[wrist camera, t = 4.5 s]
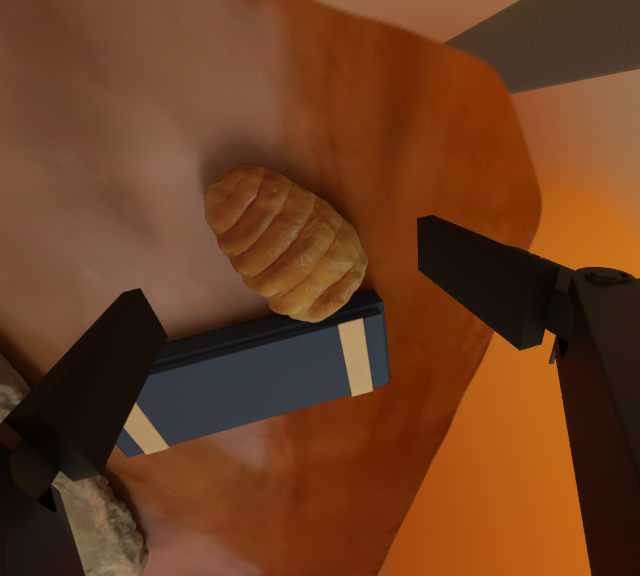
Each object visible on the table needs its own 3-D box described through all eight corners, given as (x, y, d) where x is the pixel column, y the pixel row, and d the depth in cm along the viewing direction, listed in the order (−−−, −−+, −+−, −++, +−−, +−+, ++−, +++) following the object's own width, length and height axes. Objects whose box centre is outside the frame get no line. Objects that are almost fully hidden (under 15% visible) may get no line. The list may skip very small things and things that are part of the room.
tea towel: (374, 288, 20) (388, 307, 18) (382, 361, 23) (395, 385, 21) (84, 363, 19) (59, 394, 16) (137, 429, 22) (122, 462, 20)
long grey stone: (82, 558, 30) (180, 528, 31) (54, 633, 25) (170, 594, 27) (-340, 257, 12) (-68, 220, 14) (-680, 332, 8) (-221, 265, 9)
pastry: (180, 220, 16) (157, 240, 12) (263, 126, 14) (263, 121, 11) (298, 315, 20) (305, 350, 16) (371, 249, 19) (395, 272, 15)
